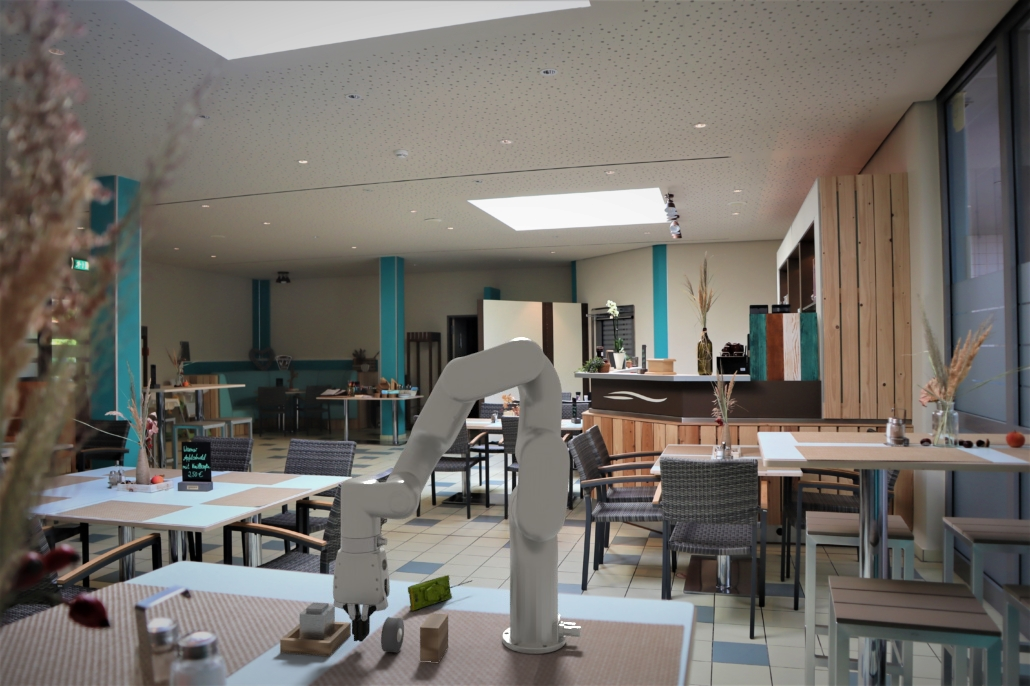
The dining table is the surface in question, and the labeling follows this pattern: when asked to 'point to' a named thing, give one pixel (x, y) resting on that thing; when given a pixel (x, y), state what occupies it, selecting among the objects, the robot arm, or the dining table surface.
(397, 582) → the dining table surface
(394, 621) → the wheel
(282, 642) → the tray
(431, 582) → the toy tank
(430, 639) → the block
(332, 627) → the block
